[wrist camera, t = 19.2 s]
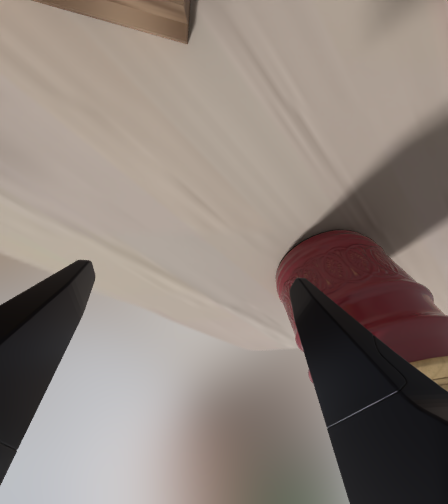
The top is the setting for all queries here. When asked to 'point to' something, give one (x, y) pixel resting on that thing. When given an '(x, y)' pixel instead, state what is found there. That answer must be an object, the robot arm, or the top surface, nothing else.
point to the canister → (371, 296)
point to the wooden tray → (136, 14)
